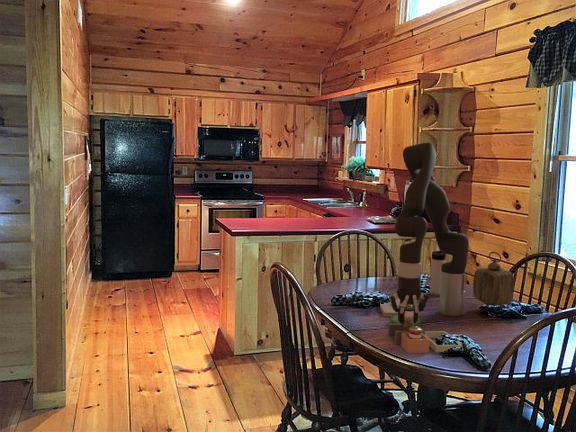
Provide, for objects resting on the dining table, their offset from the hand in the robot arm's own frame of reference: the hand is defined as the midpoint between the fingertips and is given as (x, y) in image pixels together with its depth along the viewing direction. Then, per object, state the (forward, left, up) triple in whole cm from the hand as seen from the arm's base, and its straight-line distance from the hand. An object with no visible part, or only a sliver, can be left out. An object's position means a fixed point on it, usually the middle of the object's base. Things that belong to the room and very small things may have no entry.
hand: (407, 322), depth 186 cm
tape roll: (-6, -17, -7) cm, 19 cm away
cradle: (0, -1, -7) cm, 7 cm away
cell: (0, 0, -1) cm, 1 cm away
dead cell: (0, +8, -6) cm, 10 cm away
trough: (-10, +5, -7) cm, 13 cm away
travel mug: (-36, -58, -7) cm, 68 cm away
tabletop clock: (-48, -31, -7) cm, 57 cm away
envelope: (-9, -38, -7) cm, 40 cm away
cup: (0, +8, -7) cm, 11 cm away
